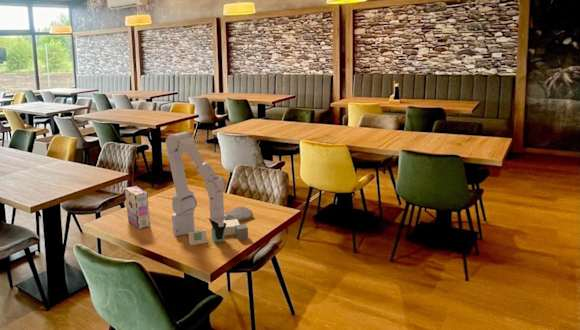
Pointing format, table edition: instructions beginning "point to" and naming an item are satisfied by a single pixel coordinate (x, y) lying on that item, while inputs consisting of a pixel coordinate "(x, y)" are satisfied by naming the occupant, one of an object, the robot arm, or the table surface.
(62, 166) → the table surface
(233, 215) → the stone block
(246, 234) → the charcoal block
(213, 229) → the teal block
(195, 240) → the placard
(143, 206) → the candy box
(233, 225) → the cream base block
